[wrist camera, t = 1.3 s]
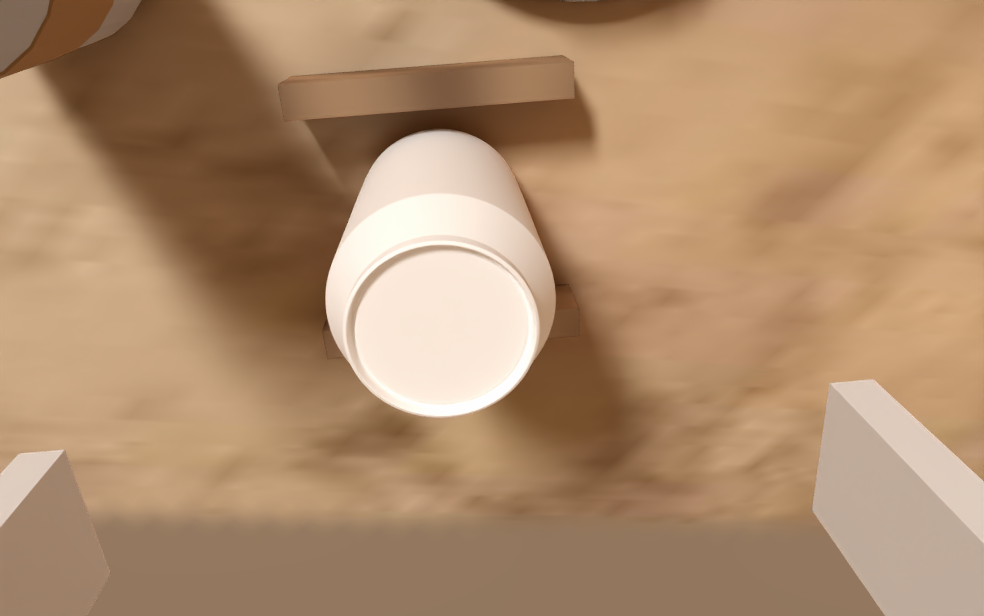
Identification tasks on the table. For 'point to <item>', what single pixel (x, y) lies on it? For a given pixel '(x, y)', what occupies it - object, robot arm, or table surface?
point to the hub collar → (579, 0)
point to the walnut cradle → (435, 92)
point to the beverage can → (440, 278)
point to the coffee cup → (55, 28)
